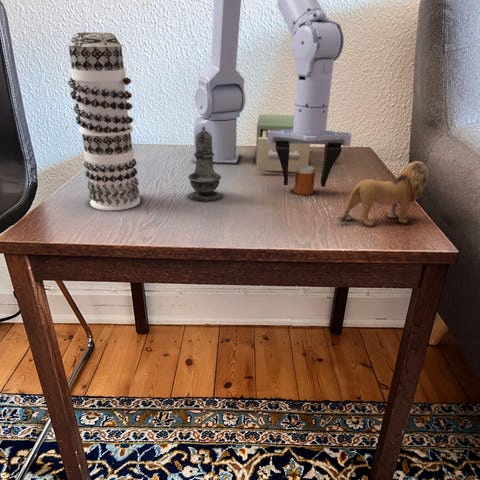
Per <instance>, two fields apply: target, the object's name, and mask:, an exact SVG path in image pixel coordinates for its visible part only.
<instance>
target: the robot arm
mask: <svg viewBox="0 0 480 480" xmlns="http://www.w3.org/2000/svg"><path fill="white" fill-rule="evenodd" d="M276 2H277V9H278V10H279V12H280V14H281V16H282V18H283V20H284V22H285V24H286V26H287V28H288V30H289V32H290V34H291V35H292V38H293V41H291V53H292V57H293V59H294V71H295V75H297V76H296V87H295V100H294V111H293V115H294V124H293V129H291V130H268V140H267V143H270V144H273V143H276V151H277V154H278V157H279V160H280V163H281V166H282V171H281V172H282V175H283V176H282V177H283V185H284V186H288V185H289V172H288V162H289V151H290V150H289V146H290V145H289V143H295V144H310V145H323V146H324V153H323V164H322V170H321V176H320V186H321V187H322V188H325V187H326V185H327V181H328V178H329V175H330V173H331V171H332V169H333V167H334V165H335V163H336V161H337V160H338V159H339V157H340V155H341V153H342V150H343V149H342V146H343V147H350V146H351V141H352V134H351V132H343V131H333V130H327V124H328V117H329V115H328V114H329V106H330V99H331V98H330V96H331V88H332V79H333V71H334V62H336V61H337V59H339V57H340V56H341V55H342V52H343V49H344V44H345V42H344V41H345V37H344V33H343V30H342V26H341V24H340V23H339V22H338V21H335V20H331V19H330V17H327V16H326V15H327V14H326V12H325V10H324V9H322V6H321V4H320V3H319V0H277V1H276ZM241 5H242V0H213V4H212V24H211V25H212V26H211V27H212V28H211V30H212V31H211V49H210V50H211V51H210V65H209V67H207V68H206V69H205V70H204V71H203V72H202V73H200V74H199V75H198V77H197V87H196V90H195V93H194V104H195V105H194V106H195V108H196V110H197V112H198V114H199V115H200V116H197V117H195V118H194V121H193V144H194V145H193V149H194V153H196V135H197V134H198V133H199V132H201V131H202V127H203V126H204V127H205V128H206V129H205V131H207V132H209V133H210V134H211V135H212V152H213V153H214V156H213V163H218V164H237V163H238V160H239V157H240V153H239V152H237V125H238V124H237V123H238V118H240V117H241V115H240V114H241V113H242V112H243V111H244V109H245V106H246V101H247V100H246V99H247V98H246V92H245V78H244V76H242V74H241V73H240V72H239V71H238V70H237V59H238V47H239V33H240V19H241V7H242V6H241ZM193 160H194V161H193V162H195V163H196V157H195V156H194V159H193ZM321 187H320V188H321Z"/></svg>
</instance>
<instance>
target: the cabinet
mask: <svg viewBox="0 0 480 480" xmlns="http://www.w3.org/2000/svg"><path fill="white" fill-rule="evenodd" d="M293 124H294V114H293V115H292V114H291V115H290V114H265V113H263V114H262V113H258V119H257V124H256V145H255V164H256V165H257V158H258V137H262V134H263V129H275V130H291V129H293Z"/></svg>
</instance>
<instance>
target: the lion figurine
mask: <svg viewBox="0 0 480 480" xmlns="http://www.w3.org/2000/svg"><path fill="white" fill-rule="evenodd" d="M429 175H430V172H429V168H428V165H427V164H425V163H424V162H422V161H417V160H414V161H412V162H409V163H407V164H405V165H404V170H403V171H402V172H400V173H399V175H398V176H397V177H396V178H395V179H393V180H389V181H388V180H387V181H380V180H375V179H371V178H370V179H369V178H368V179H364V180H361V181H360V182H358V183H357V184H356V185H355V186H354V187H353V189H352V191H351V193H350V195H349V197H348V200H347V203H346V205H345V207H344V211H343V215H342V216H341V219H340V220H339V223H344V222H345V221H346V220H351V219H352V215H351V214H349V213H350V212H351V210H353V208H355V207H356V206H358V205H360V204H361V206H362V211H361V213H360V217H361V219H362V220H363V222H364V224H365V225H366V226H369V227H373V226H374V221H373V220H370V219H369V213H370V211H371V209H372V207H373V205H374V203H376V204H379V205H383V206H389V211H388V213H387V216H388V217H389V218H391V219H395V218H397V213H396V208H397V205H398V204H399V207H400V209H399V214H398V221H399V223H402V224H407V223H408V219H407V218H405V217H406V215H407V213H408V210H409V208H410V203H413V202H416V200H418V199H419V198H420V197H421V196H422V193H423V191H424V189H425V187H426V186H427V182H428V180H429V177H430V176H429Z"/></svg>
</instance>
